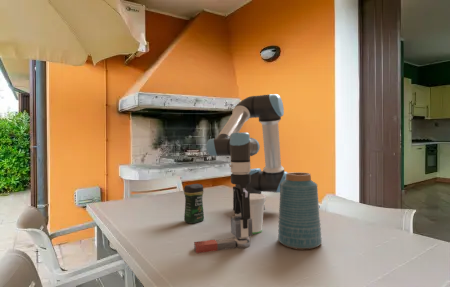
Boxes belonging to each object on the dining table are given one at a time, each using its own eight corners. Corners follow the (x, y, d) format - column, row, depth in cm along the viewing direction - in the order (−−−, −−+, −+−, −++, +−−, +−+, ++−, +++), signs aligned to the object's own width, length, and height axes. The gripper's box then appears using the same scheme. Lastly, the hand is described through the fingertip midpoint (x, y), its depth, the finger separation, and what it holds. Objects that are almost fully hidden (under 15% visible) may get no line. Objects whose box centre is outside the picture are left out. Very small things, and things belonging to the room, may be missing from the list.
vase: (315, 254, 94) (314, 177, 94) (271, 245, 103) (270, 175, 102) (326, 239, 108) (324, 172, 107) (286, 232, 116) (285, 170, 116)
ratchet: (246, 241, 107) (246, 224, 107) (252, 247, 101) (251, 228, 101) (193, 247, 102) (193, 229, 102) (196, 254, 96) (195, 234, 96)
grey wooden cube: (246, 230, 107) (246, 215, 107) (252, 236, 101) (252, 219, 101) (231, 232, 106) (230, 216, 106) (235, 237, 100) (235, 221, 100)
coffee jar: (191, 225, 130) (191, 186, 130) (181, 221, 135) (181, 184, 135) (206, 220, 137) (206, 183, 137) (196, 217, 142) (195, 182, 142)
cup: (268, 227, 124) (268, 194, 124) (263, 236, 112) (263, 199, 112) (242, 225, 128) (242, 192, 128) (234, 234, 116) (234, 198, 116)
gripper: (224, 171, 112) (225, 226, 112) (238, 176, 93) (239, 243, 93) (242, 170, 114) (243, 225, 114) (259, 175, 95) (260, 241, 95)
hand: (241, 233), depth 103 cm, fingers closed on grey wooden cube, 6 cm apart
